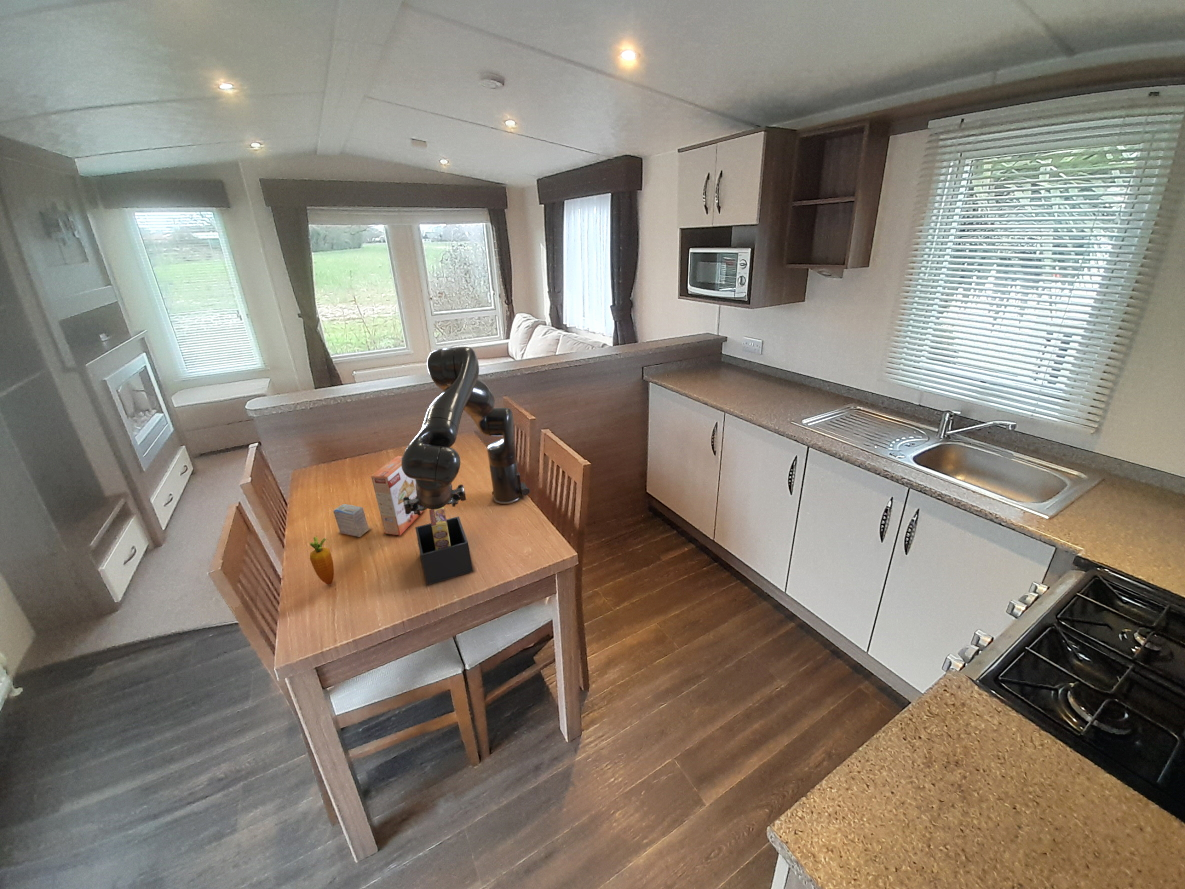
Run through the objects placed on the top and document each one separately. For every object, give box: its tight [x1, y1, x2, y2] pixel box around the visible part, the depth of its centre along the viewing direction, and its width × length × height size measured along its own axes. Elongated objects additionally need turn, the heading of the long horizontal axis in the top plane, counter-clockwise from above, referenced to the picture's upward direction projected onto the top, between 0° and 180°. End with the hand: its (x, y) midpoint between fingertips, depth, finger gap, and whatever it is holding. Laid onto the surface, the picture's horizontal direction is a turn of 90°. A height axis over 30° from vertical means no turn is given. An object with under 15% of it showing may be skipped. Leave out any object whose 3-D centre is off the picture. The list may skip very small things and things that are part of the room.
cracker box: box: [370, 455, 424, 536], centre depth 150 cm, size 14×6×21 cm, turn 168°
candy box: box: [428, 506, 451, 550], centre depth 131 cm, size 9×4×15 cm, turn 21°
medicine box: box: [332, 503, 370, 538], centre depth 149 cm, size 8×4×9 cm, turn 71°
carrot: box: [309, 536, 335, 586], centre depth 125 cm, size 5×5×15 cm
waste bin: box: [414, 515, 474, 586], centre depth 133 cm, size 12×14×10 cm
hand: (435, 507), depth 120 cm, fingers open, 8 cm apart
